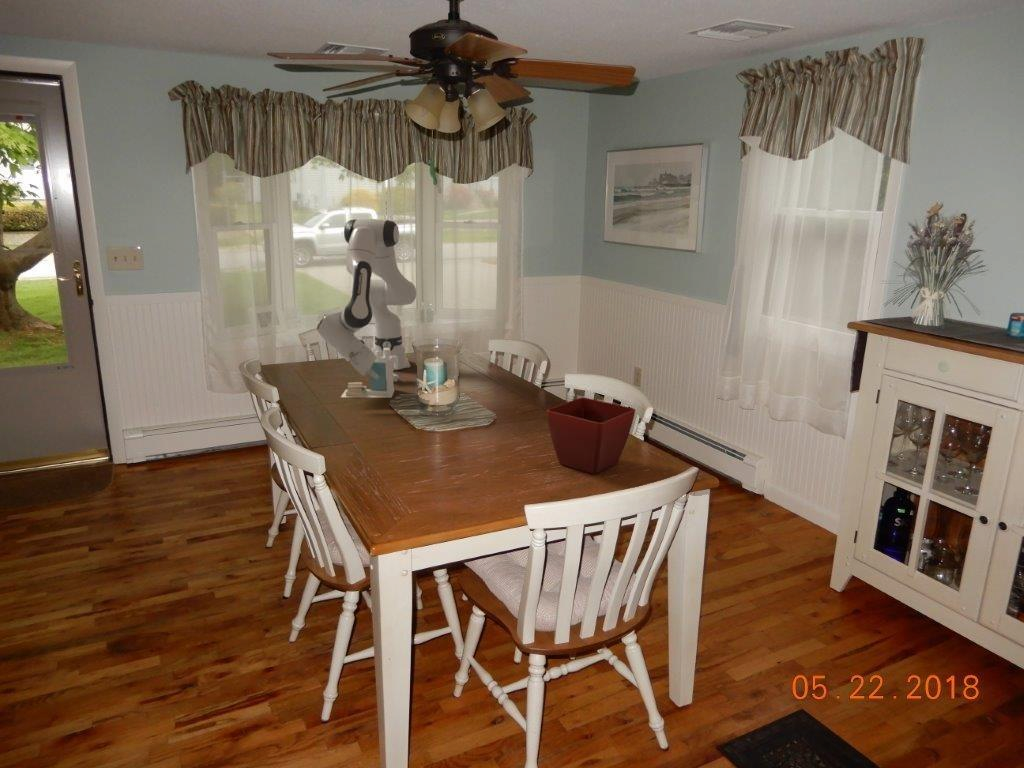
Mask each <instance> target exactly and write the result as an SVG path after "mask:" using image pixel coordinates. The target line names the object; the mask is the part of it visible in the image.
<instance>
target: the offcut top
mask: <svg viewBox="0 0 1024 768" xmlns="http://www.w3.org/2000/svg"><path fill="white" fill-rule="evenodd" d="M362 386H363V382H362V381H361V382H359V381H357V382H356V381H355V382H348V383H347V389H348V392H351V391H362Z"/></svg>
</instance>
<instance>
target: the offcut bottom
mask: <svg viewBox="0 0 1024 768" xmlns="http://www.w3.org/2000/svg"><path fill="white" fill-rule="evenodd" d="M367 389H368V388H367V385H362V391H351V392H348V388H347V390H346V389H345V390H346V396H364V394H365V392H366V391H367Z"/></svg>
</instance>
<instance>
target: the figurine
mask: <svg viewBox="0 0 1024 768" xmlns="http://www.w3.org/2000/svg"><path fill="white" fill-rule="evenodd" d="M383 355H384V356H383V357H380V352H379V351H376V352H375V356H376V357H377V359H376V362H387V361H388V359H389V357H390V348H383ZM393 363H394V368H395V369H398V357H397V356H393ZM399 377H400V375H398V374H396V373H394V372H393V383H394V382H398V380H399ZM386 378H387V367H386Z"/></svg>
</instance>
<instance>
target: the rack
mask: <svg viewBox="0 0 1024 768" xmlns="http://www.w3.org/2000/svg"><path fill="white" fill-rule="evenodd" d="M386 367H387V391H378V390H370V388H369V389H368V388H367V391H366V392H365V394H364V396H346V390H347V389H348V388H347V389H345V390H344V391H343V393H342V394H341V396H340V398H377V399H378V398H379V399H380V398H392V397H393V395H394V393H395V389H394V386H395V385H394V382H393V373H394V370H393V356H390V357H389V359H388V361H387V362H386Z"/></svg>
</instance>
